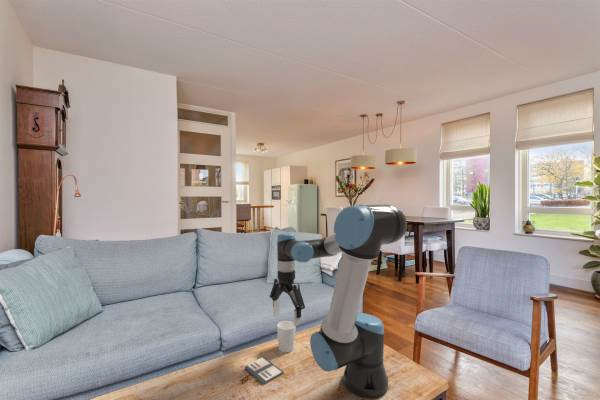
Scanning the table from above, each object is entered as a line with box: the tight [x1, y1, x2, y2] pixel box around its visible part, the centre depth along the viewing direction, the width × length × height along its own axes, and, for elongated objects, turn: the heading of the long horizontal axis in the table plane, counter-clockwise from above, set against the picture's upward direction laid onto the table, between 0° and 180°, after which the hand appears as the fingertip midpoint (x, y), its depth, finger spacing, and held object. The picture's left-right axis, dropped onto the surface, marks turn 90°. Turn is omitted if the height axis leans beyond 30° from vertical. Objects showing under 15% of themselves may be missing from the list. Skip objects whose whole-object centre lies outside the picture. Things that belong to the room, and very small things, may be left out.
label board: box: [244, 357, 285, 386], centre depth 105 cm, size 12×9×1 cm
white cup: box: [276, 320, 297, 353], centre depth 121 cm, size 8×8×10 cm
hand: (286, 319), depth 121 cm, fingers open, 13 cm apart
